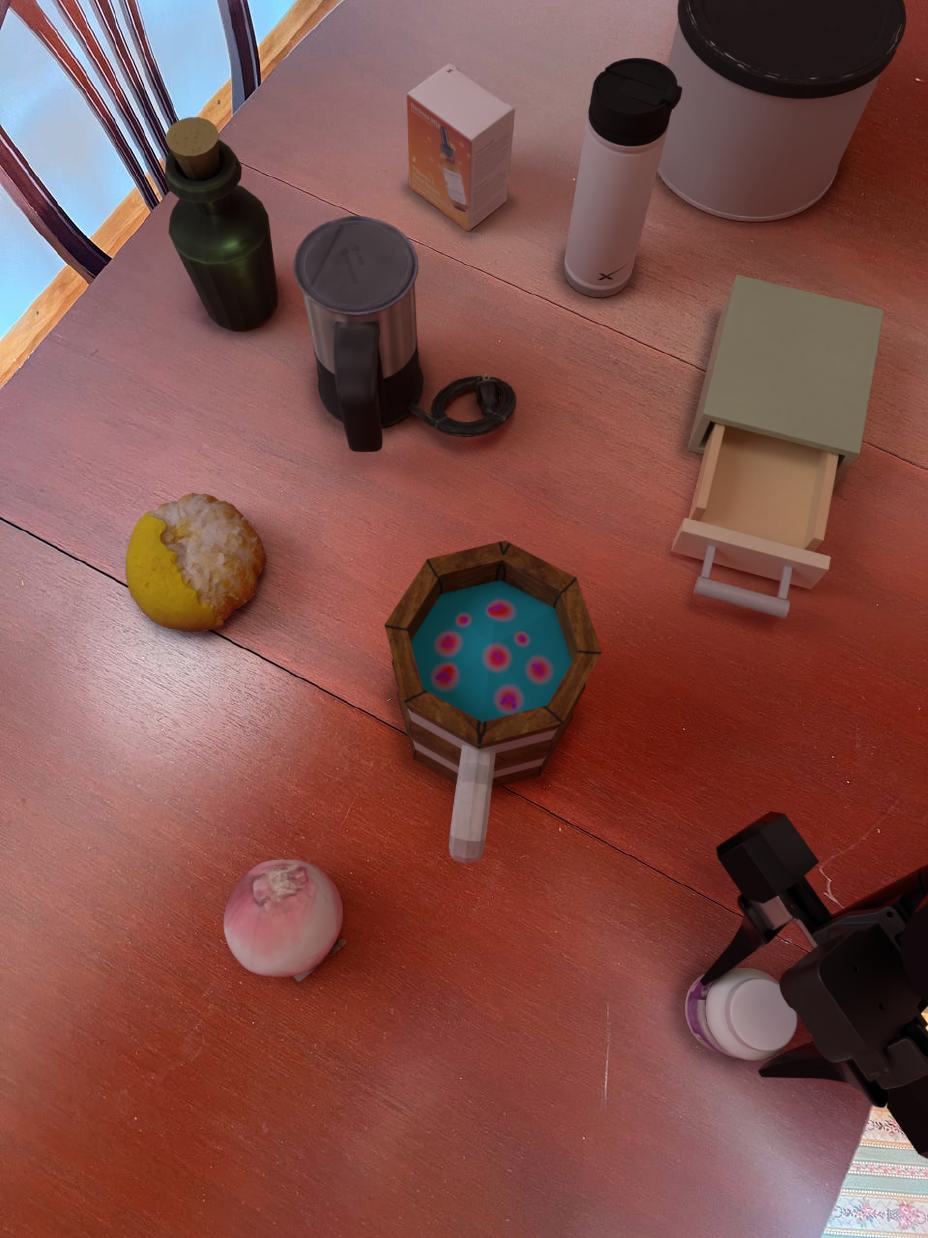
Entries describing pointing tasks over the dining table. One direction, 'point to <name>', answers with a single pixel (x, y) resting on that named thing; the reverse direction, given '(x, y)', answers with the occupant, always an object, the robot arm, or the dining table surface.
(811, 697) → the dining table surface
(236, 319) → the potion bottle
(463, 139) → the small box
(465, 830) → the mug
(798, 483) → the drawer
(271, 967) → the turnip
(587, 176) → the travel mug
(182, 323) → the dining table surface
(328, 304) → the milk frother
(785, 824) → the robot arm
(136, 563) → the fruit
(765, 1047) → the pill bottle
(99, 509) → the dining table surface
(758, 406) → the cabinet
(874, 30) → the container
